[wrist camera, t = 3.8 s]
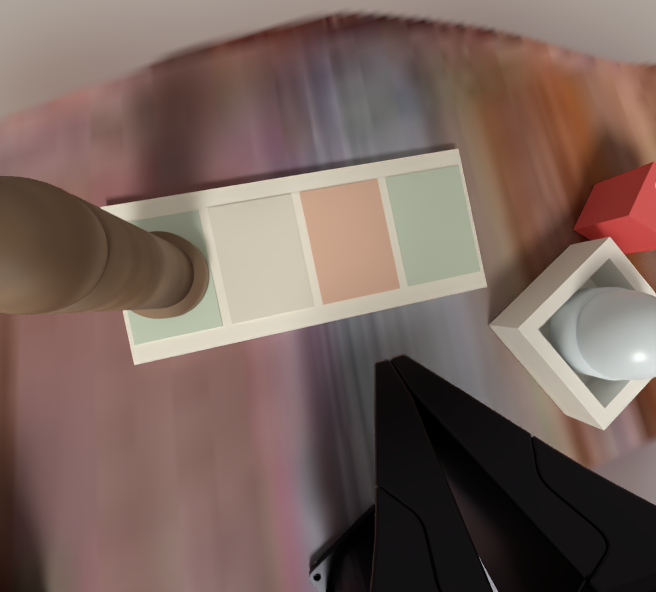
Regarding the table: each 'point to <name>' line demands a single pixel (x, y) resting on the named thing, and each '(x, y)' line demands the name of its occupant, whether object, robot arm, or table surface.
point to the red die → (623, 210)
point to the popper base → (534, 330)
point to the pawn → (89, 258)
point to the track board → (313, 249)
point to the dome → (607, 333)
